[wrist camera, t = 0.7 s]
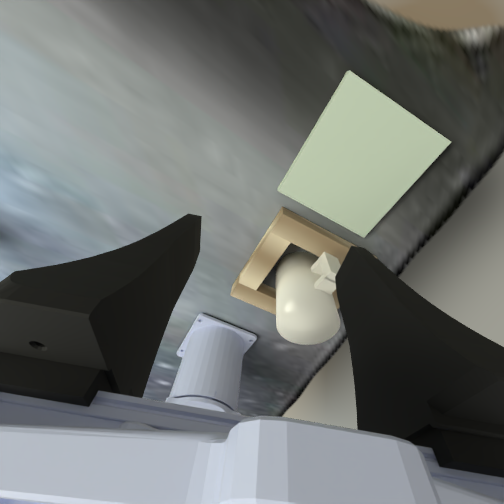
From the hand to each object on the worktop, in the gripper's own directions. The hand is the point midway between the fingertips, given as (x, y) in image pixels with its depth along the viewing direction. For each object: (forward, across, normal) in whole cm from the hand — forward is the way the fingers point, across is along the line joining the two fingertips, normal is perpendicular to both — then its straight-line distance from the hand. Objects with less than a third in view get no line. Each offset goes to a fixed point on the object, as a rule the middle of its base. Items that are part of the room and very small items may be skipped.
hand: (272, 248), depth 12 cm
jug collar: (+10, -5, +9) cm, 14 cm away
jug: (+10, -5, +9) cm, 14 cm away
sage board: (+11, -6, -2) cm, 12 cm away
